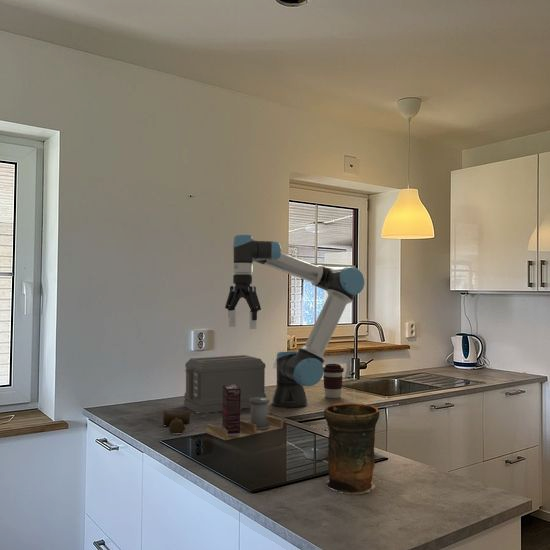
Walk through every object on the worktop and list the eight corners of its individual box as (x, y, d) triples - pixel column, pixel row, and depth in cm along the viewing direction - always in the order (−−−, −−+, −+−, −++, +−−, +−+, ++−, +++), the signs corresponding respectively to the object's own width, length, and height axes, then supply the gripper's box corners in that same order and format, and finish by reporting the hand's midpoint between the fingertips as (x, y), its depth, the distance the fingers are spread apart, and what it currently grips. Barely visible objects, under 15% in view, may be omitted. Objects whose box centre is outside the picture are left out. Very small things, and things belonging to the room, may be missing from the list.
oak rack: (263, 424, 207) (263, 413, 207) (282, 430, 199) (282, 419, 199) (206, 436, 191) (206, 424, 191) (225, 443, 183) (225, 430, 183)
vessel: (391, 484, 146) (390, 407, 146) (360, 500, 135) (359, 418, 135) (345, 471, 155) (344, 399, 155) (313, 486, 145) (312, 409, 145)
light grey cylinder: (260, 424, 204) (260, 396, 204) (273, 428, 198) (273, 399, 199) (244, 427, 199) (244, 399, 199) (257, 431, 194) (257, 402, 194)
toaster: (177, 406, 238) (177, 358, 238) (247, 398, 255) (248, 354, 255) (194, 415, 222) (194, 364, 222) (268, 406, 239) (268, 358, 239)
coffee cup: (343, 395, 264) (343, 363, 265) (343, 399, 255) (344, 366, 255) (322, 394, 265) (322, 362, 266) (321, 398, 256) (322, 365, 256)
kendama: (162, 437, 191) (163, 421, 211) (190, 437, 193) (188, 421, 213) (162, 419, 191) (163, 405, 211) (191, 419, 193) (189, 405, 213)
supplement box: (240, 435, 188) (241, 388, 188) (226, 436, 186) (226, 389, 187) (235, 429, 196) (235, 384, 196) (221, 430, 195) (222, 384, 195)
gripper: (216, 274, 229) (216, 326, 228) (254, 273, 210) (254, 330, 209) (231, 274, 234) (231, 325, 233) (270, 273, 215) (269, 329, 214)
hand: (242, 327), depth 221 cm, fingers open, 13 cm apart
